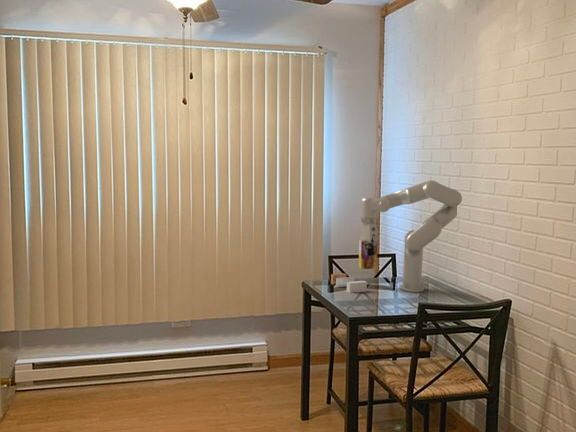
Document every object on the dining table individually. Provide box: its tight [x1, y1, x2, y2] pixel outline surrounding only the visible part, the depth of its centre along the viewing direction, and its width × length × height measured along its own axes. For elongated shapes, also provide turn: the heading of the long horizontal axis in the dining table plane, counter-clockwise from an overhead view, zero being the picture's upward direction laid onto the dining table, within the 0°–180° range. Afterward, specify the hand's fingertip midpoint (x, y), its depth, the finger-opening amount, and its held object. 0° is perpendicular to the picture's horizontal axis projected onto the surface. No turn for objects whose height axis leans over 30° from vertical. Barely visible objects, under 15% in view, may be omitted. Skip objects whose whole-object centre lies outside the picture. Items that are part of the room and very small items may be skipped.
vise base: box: [346, 280, 368, 294], centre depth 317 cm, size 14×22×6 cm, turn 25°
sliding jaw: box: [330, 273, 356, 288], centre depth 322 cm, size 10×9×5 cm
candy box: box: [358, 239, 378, 270], centre depth 324 cm, size 9×4×15 cm, turn 101°
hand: (367, 254), depth 324 cm, fingers closed on candy box, 4 cm apart
